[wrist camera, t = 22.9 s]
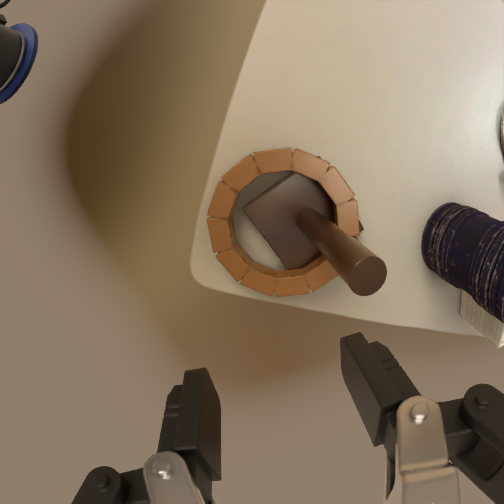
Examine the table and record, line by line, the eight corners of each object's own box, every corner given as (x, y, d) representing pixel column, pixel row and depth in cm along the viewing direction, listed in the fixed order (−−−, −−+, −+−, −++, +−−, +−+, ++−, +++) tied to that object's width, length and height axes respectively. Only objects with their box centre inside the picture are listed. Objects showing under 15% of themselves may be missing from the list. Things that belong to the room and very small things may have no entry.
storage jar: (416, 278, 33) (489, 340, 19) (422, 202, 30) (515, 239, 16) (466, 268, 34) (536, 315, 20) (474, 201, 30) (557, 231, 16)
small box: (481, 301, 36) (520, 333, 26) (458, 314, 36) (498, 350, 26) (485, 258, 34) (531, 285, 24) (461, 269, 34) (509, 301, 24)
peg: (242, 207, 29) (255, 263, 15) (315, 156, 28) (395, 162, 13) (292, 273, 32) (337, 366, 17) (358, 225, 31) (446, 285, 16)
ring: (186, 210, 29) (179, 213, 27) (295, 121, 25) (296, 118, 23) (271, 310, 32) (270, 319, 30) (379, 236, 28) (385, 241, 26)
